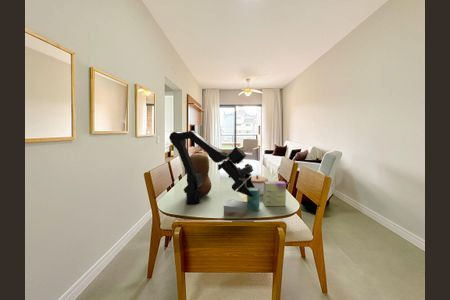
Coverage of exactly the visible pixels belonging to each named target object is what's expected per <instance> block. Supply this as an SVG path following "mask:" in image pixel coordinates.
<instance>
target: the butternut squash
mask: <svg viewBox="0 0 450 300" xmlns="http://www.w3.org/2000/svg"><path fill="white" fill-rule="evenodd" d="M190 158H191V161H192V163H193V166H194V169H195V171H196V172H197V173H198V174H199V173H201V176H202V178H203V184H202V186H201V187H200V189H199V190H198V191H199V194H200V198H203V197H205V196H207V195H208V194H209V193H210V192H211V191H212V181H211V179H210V177H209V172H210V171H209V170H210V159H209V155H208V154H202V153H193V154H191V155H190Z"/></svg>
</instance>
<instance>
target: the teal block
mask: <svg viewBox="0 0 450 300" xmlns="http://www.w3.org/2000/svg"><path fill="white" fill-rule="evenodd" d="M249 191H250V192H251V193H252V195H253V196H252V197H250V196H247V195H246V196H247V200H246V202H248V207H247V211H249V210H250V211H251V212H258V211H259V210H260V199H261V198H260V197H261V195H260V188H249ZM250 211H249V212H250Z"/></svg>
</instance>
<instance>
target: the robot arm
mask: <svg viewBox="0 0 450 300" xmlns="http://www.w3.org/2000/svg"><path fill="white" fill-rule="evenodd" d="M189 139H190V141H192V142H193V143H195V144H196V145H197V146H198V147H200V148H201V149H202V150H203V151H204V152H206V153H207V156H208V158H210V159H211V160H212V161H213V162H214V163H216V164H217V163H219V164H217V170H218V171H220V170H223V171H224V172H225V173H226V174H227V175H228V178H229V179H230V178H231V180H233V184H232V185H231V189H232V191H234V192H238V193H241V194H243V195H244V196H250V197H252V196H253V195H252V193H251V192H250V191H249V189H248V188H255V187H254V185H253V183H252V181H251V179H252V177H253V176H252V172H254V168H253V165H252V164H249V163H246V164H245V165H244V167H242V168H241V167H238V166H236V165H239V164H240V163H241V162H242V161H243V160H244V159H245V158H247V154H246V153H245V151H244V150H242V149H241V148H239V147H238V146H235V147H234V148H233V150H232V151H231V152H225V151H224V150H222V149H221V148H219V147H216V146H214V145H212V144H211V143H210V142H208V141H207V140H206V139H205V138H203V137H202V136H201V135H200V134H198V133H197V132H196V130H188V131H183V132H182V131H172V132H171V133H170V134H169V141H170V143H171V144H172V146H174V148H175V149H176V150H177V152H178V155H179V157H180V158H179V159H180V161H181V162H182V163H181V164H182V165H183V168H184V171H185V173H186V184H187V185H186V186H185V187H184V188H183V192H184V194H185V203H186V205H187V206H191V205H198V204H200V201H201V200H200V198H201V197H200V194H199V191H198V190H199V189H200V187H201V186H202V184H203V178H202V176H201V173H199V174H198V173H197V172H196V171H195V169H194V166H193V163H192V161H191V158H190V157H191V155H190V153H189V151H188V149H187V140H189ZM249 177H250V178H249Z"/></svg>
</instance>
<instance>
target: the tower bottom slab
mask: <svg viewBox="0 0 450 300" xmlns="http://www.w3.org/2000/svg"><path fill="white" fill-rule="evenodd" d="M247 212H248V210H247V209H246V210H245V211H244V213H235V212H227V211H224V210H223V216H227V217H235V218H236V217H237V218H244V216H246V214H247Z"/></svg>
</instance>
